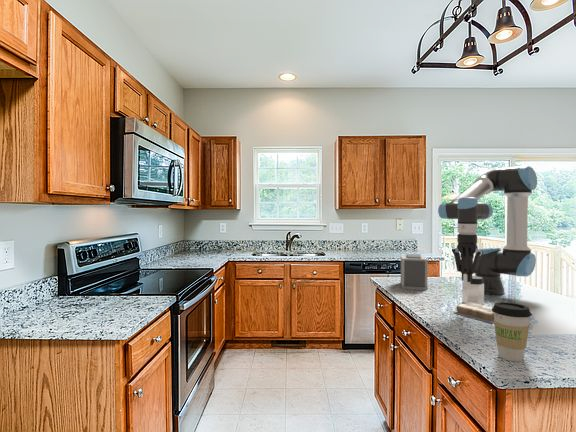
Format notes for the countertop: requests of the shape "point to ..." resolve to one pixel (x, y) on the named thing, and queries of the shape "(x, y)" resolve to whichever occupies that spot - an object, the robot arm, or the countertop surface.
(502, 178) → the robot arm
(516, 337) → the coffee cup
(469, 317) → the mat
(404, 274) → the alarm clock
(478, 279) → the jar
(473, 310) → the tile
